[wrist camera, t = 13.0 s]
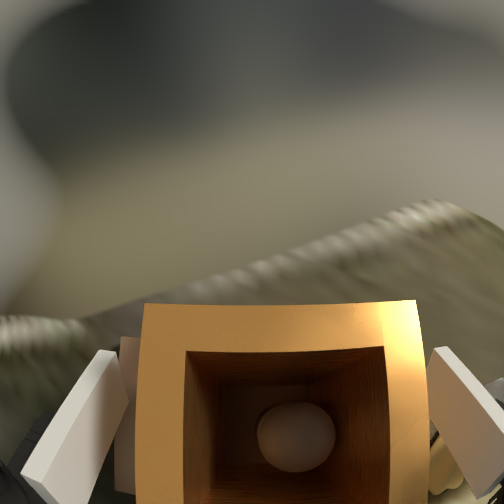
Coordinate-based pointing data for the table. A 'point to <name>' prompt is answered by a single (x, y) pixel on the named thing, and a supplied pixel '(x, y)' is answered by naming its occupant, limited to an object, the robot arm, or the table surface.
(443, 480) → the toy
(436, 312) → the table surface
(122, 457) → the post
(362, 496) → the frame
